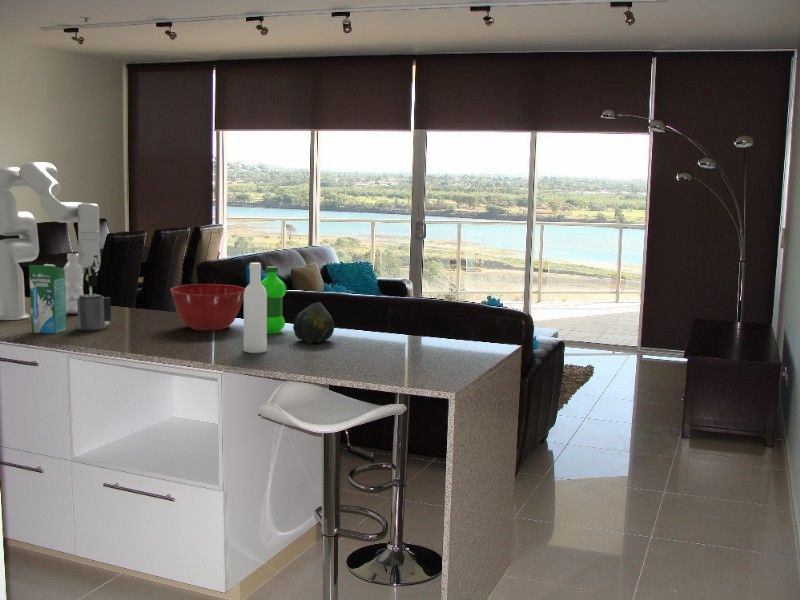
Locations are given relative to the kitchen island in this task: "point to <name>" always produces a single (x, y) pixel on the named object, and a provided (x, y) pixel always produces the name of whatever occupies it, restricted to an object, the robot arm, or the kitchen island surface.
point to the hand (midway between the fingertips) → (90, 285)
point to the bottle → (255, 313)
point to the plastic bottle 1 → (73, 283)
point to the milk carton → (47, 299)
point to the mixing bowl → (208, 305)
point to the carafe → (93, 312)
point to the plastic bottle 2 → (274, 300)
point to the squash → (314, 324)
